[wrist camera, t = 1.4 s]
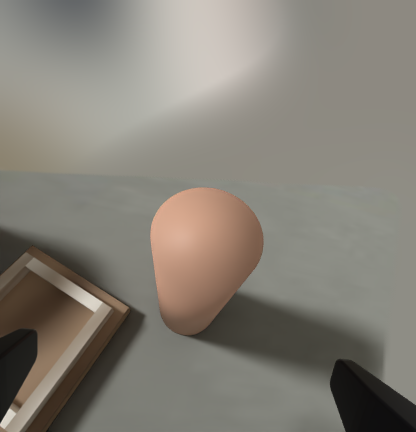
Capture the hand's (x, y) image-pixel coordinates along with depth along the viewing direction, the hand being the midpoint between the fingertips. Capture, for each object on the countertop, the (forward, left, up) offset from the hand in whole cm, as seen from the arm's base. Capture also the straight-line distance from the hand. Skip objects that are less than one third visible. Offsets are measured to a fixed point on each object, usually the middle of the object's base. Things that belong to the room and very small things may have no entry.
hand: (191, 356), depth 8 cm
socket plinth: (+10, +3, -13) cm, 17 cm away
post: (+2, -4, -13) cm, 14 cm away
